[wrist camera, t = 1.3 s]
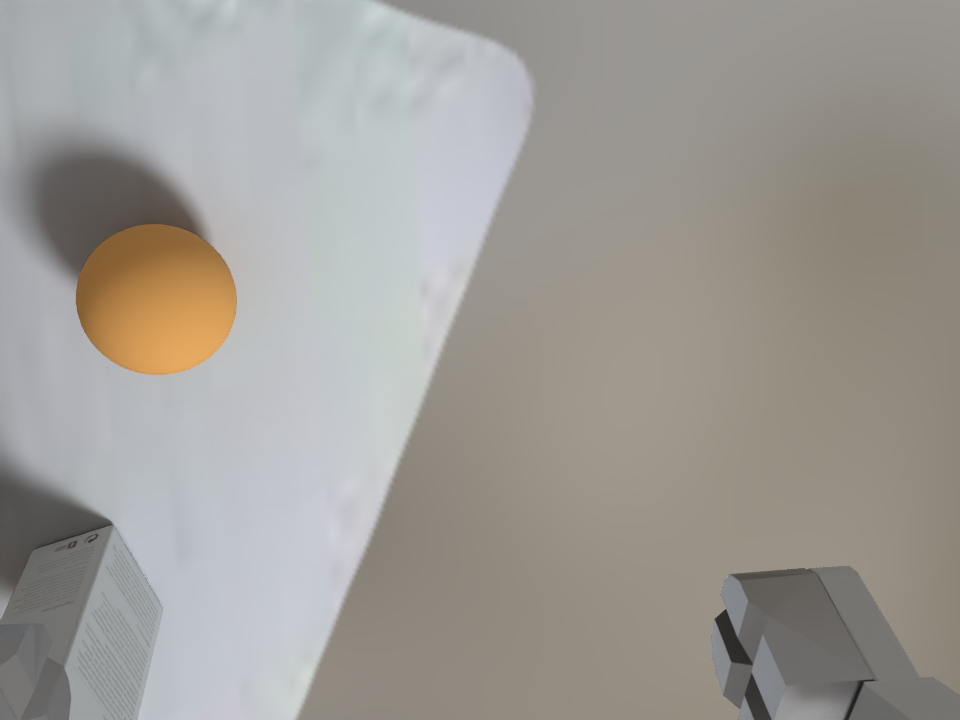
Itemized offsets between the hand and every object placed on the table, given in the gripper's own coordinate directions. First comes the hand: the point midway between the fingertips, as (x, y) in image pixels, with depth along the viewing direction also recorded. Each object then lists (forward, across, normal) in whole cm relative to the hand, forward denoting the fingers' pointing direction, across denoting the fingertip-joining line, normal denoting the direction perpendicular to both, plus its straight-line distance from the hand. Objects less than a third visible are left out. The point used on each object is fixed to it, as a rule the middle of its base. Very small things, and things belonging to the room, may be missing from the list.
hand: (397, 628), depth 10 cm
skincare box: (+24, -16, -25) cm, 38 cm away
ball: (+24, -10, -9) cm, 27 cm away
